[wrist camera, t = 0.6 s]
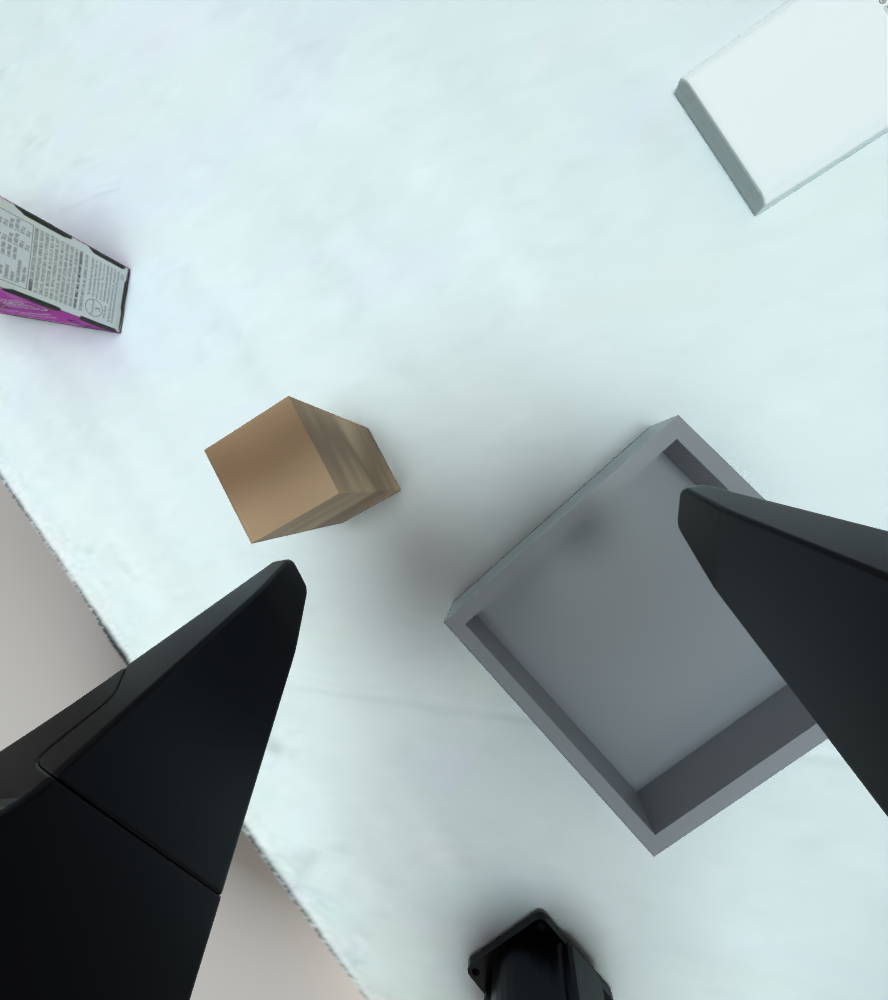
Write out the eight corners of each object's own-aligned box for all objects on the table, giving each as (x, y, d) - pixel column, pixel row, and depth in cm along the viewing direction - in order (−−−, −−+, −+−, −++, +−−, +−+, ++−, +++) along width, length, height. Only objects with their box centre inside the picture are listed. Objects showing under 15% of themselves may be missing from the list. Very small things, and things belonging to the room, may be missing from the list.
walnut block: (400, 490, 24) (338, 493, 15) (342, 522, 25) (251, 543, 16) (368, 428, 24) (288, 395, 15) (311, 462, 25) (204, 450, 16)
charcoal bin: (631, 799, 22) (653, 856, 19) (453, 602, 24) (444, 622, 20) (861, 634, 20) (934, 665, 17) (650, 426, 21) (678, 415, 18)
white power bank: (669, 103, 21) (899, -62, 19) (748, 224, 21) (992, 68, 19) (682, 73, 20) (935, -112, 18) (768, 202, 19) (1038, 29, 17)
